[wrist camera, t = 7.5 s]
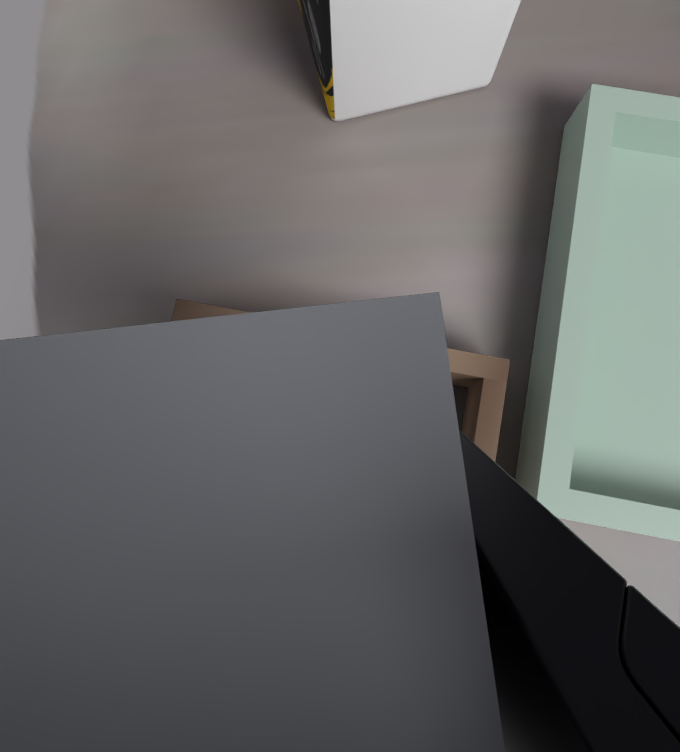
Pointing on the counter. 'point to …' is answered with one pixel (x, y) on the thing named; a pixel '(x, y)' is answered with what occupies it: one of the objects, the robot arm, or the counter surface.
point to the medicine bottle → (403, 49)
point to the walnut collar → (466, 370)
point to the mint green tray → (610, 322)
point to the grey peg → (241, 538)
